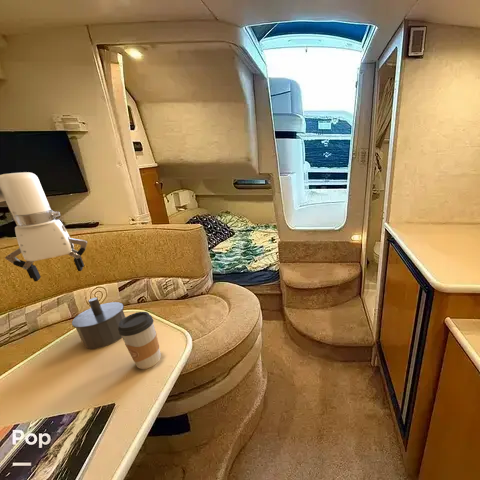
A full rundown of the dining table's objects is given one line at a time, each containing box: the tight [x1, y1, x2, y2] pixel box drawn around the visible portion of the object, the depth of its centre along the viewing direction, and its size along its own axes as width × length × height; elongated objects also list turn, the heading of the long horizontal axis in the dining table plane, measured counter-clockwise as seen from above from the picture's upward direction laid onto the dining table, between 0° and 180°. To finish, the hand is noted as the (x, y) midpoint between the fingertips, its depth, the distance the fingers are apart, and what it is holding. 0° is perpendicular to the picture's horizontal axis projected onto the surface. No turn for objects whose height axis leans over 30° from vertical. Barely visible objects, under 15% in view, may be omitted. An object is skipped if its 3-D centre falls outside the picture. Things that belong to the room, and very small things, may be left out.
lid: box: [71, 297, 125, 329], centre depth 89 cm, size 14×14×7 cm
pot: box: [75, 310, 126, 350], centre depth 91 cm, size 13×13×8 cm
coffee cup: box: [118, 311, 162, 370], centre depth 77 cm, size 8×8×15 cm
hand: (59, 274), depth 79 cm, fingers open, 9 cm apart
